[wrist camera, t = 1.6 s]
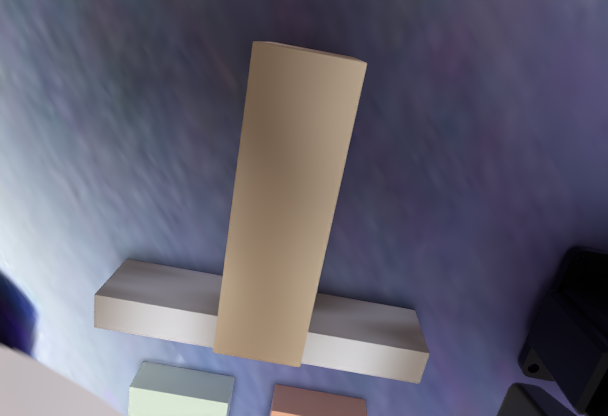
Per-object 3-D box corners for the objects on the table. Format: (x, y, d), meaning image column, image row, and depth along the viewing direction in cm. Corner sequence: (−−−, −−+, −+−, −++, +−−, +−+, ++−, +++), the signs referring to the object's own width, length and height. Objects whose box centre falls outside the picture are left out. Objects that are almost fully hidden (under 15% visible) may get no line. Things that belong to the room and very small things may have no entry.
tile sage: (236, 372, 22) (228, 403, 20) (226, 438, 23) (217, 472, 21) (146, 356, 22) (129, 386, 20) (142, 424, 23) (126, 457, 21)
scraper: (486, 82, 16) (553, 99, 11) (405, 336, 20) (430, 424, 16) (137, 15, 16) (59, 3, 11) (126, 287, 20) (66, 362, 15)
